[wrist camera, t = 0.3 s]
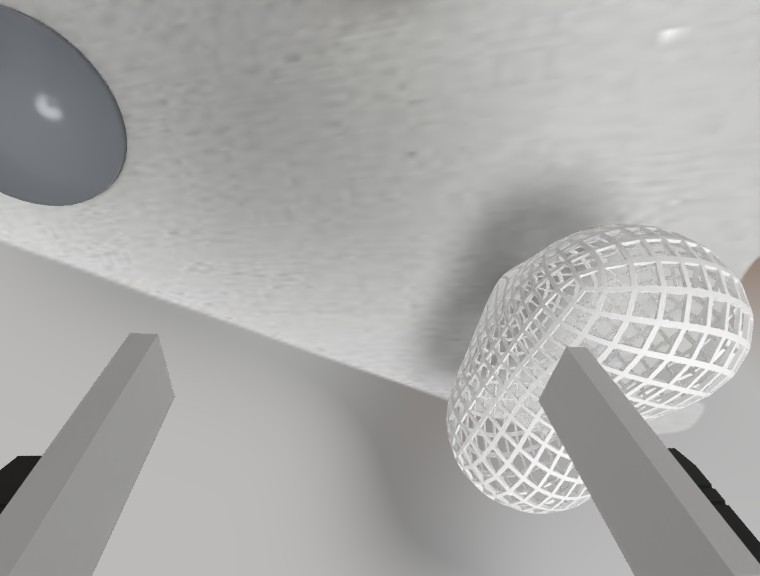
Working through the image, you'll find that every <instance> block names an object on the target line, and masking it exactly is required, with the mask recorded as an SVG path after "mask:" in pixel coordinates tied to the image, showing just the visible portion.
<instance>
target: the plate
mask: <svg viewBox="0 0 760 576" xmlns="http://www.w3.org/2000/svg"><path fill="white" fill-rule="evenodd" d="M126 149H127V145H126V132H125V126H124V122H123V119H122V115H121V112H120V110H119V107H118V105H117V103H116V100H115V98H114V96H113V95H112V93H111V91H110V89H109V87H108V86H107V84H106V83H105V81H104V80H103V78H102V77H101V75H100V74H99V73H98V72H97V70H96V69H95V68H94V67H93V65H92V64H91V63H90V62H89V61H88V60H87V59H86V58H85V57H84V56H83V55H82V53H81V52H80V51H79V50H78V49H76V48H75V47H74V46H73V45H72V44H71V43H69V42H68V41H67V40H66V39H65V38H64V37H62V36H61V35H59V34H58V33H57V32H55V31H54V30H52V29H51V28H49V27H48V26H46V25H44V24H43V23H41V22H39V21H38V20H36V19H34V18H32V17H30V16H27V15H25V14H23V13H21V12H19V11H16V10H13V9H10V8H7V7H4V6H0V192H1V193H4V194H6V195H8V196H11V197H14V198H17V199H20V200H23V201H27V202H31V203H35V204H41V205H49V206H64V205H73V204H77V203H81V202H84V201H86V200H89V199H91V198H93V197H94V196H96V195H98V194H99V193H101V192H102V191H104V190H106V189H107V188H108V187H109V186H110V185H111V184H112V183H113V182H114V181H115V180H116V178H117V177H118V175H119V174H120V172H121V170H122V168H123V164H124V161H125V157H126Z"/></svg>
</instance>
